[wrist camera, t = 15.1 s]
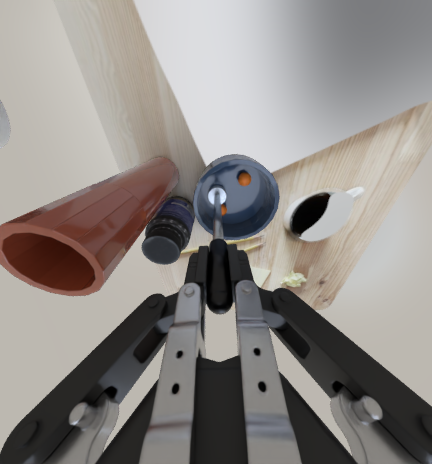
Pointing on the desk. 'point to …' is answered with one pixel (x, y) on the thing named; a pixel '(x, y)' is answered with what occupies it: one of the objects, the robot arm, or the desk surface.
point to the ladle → (218, 259)
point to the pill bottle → (169, 231)
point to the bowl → (237, 197)
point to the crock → (85, 230)
